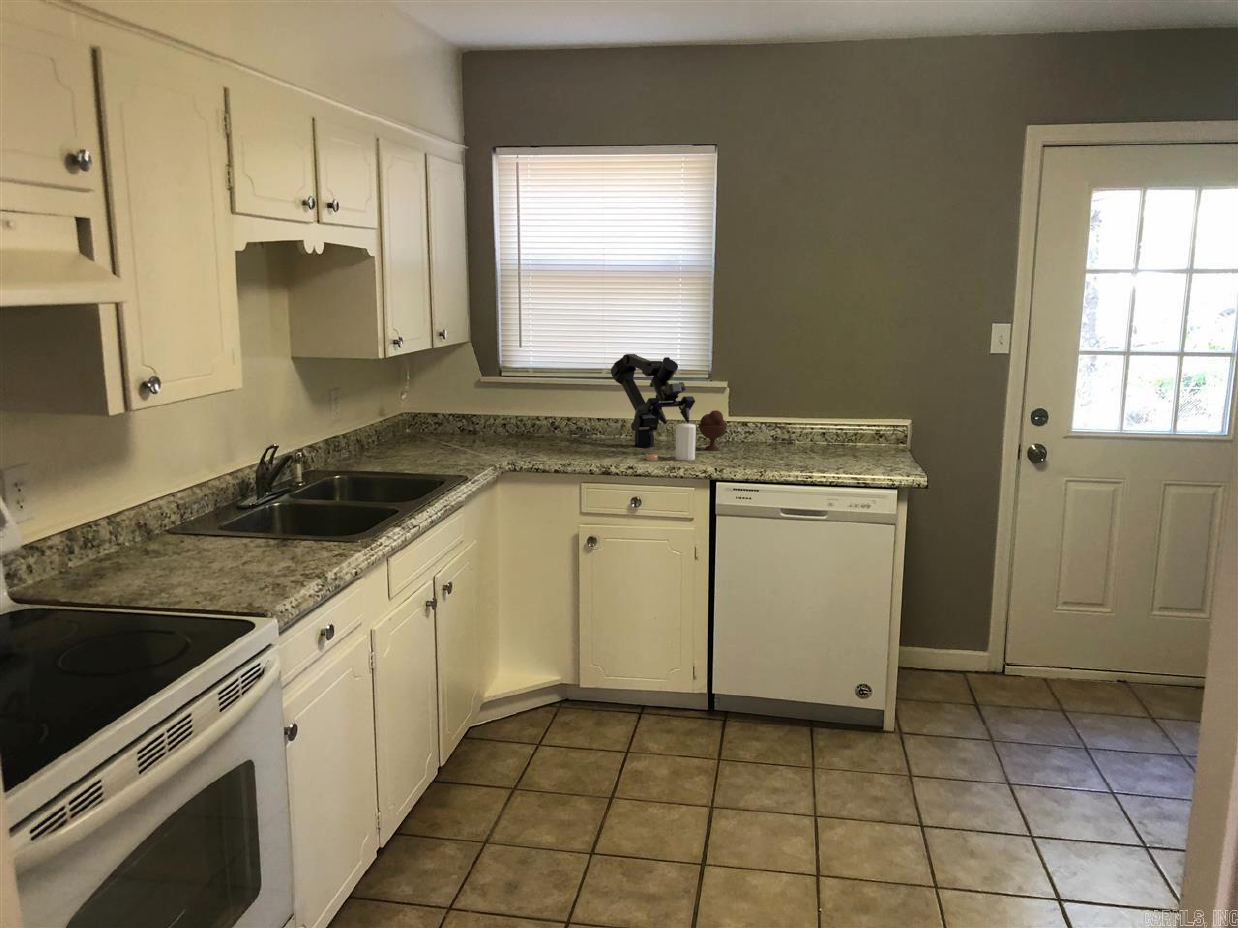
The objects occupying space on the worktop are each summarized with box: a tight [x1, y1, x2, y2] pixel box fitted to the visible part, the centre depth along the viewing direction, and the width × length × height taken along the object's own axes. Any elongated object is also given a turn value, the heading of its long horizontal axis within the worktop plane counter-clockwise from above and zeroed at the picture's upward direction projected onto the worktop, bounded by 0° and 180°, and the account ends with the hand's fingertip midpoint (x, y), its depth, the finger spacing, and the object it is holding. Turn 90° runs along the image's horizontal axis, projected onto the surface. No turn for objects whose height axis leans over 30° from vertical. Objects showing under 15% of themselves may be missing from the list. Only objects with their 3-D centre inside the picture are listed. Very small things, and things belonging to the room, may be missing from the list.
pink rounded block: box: [646, 453, 659, 462], centre depth 328 cm, size 4×4×2 cm
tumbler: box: [674, 423, 697, 461], centre depth 330 cm, size 7×7×12 cm
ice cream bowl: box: [698, 409, 728, 452], centre depth 352 cm, size 11×11×15 cm
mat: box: [664, 455, 700, 463], centre depth 332 cm, size 9×9×1 cm
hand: (677, 422), depth 334 cm, fingers open, 9 cm apart
